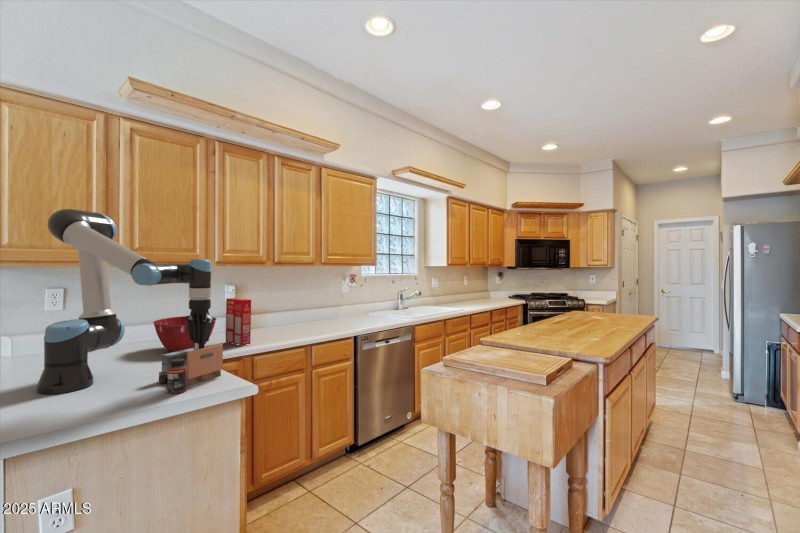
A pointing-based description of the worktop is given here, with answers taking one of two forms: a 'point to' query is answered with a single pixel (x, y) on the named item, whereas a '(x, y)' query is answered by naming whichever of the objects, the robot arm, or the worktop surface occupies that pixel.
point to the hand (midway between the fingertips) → (199, 359)
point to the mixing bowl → (175, 333)
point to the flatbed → (183, 354)
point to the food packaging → (238, 321)
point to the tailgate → (204, 361)
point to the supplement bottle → (177, 376)
